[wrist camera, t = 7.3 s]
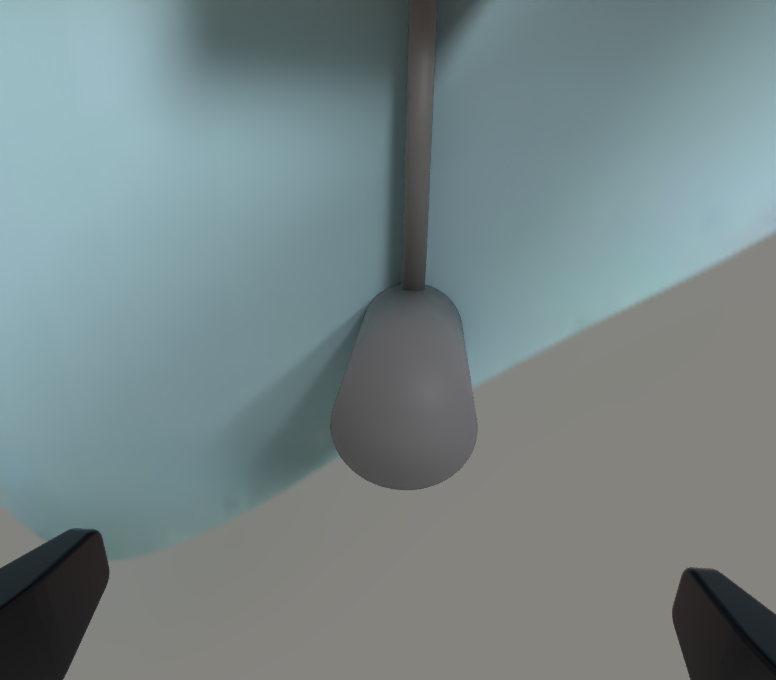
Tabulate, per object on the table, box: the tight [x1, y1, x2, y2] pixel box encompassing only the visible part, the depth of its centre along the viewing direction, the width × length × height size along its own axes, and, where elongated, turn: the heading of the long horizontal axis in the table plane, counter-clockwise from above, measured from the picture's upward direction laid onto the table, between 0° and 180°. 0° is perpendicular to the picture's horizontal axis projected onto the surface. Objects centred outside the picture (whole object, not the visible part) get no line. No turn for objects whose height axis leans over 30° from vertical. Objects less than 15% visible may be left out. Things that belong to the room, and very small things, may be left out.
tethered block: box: [331, 0, 477, 490], centre depth 12 cm, size 6×19×6 cm, turn 179°
